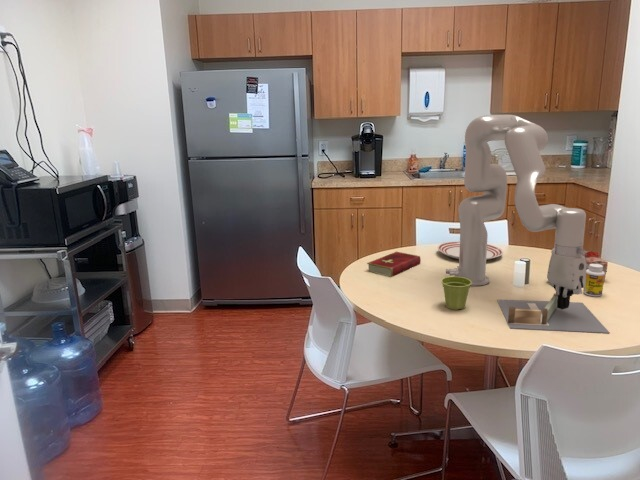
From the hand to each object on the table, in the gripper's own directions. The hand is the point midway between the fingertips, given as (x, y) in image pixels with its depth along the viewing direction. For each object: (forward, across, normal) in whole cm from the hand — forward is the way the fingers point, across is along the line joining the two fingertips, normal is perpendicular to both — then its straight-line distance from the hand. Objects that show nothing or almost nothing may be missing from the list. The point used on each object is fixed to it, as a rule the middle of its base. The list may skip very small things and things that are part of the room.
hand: (562, 307), depth 144 cm
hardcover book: (+2, +64, +20) cm, 67 cm away
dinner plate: (+2, +62, -19) cm, 65 cm away
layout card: (+2, +1, +5) cm, 5 cm away
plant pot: (+2, +20, +25) cm, 32 cm away
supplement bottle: (+2, +6, -22) cm, 23 cm away
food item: (+2, +19, -36) cm, 41 cm away
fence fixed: (+2, -1, +15) cm, 15 cm away
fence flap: (+1, +1, +4) cm, 5 cm away
